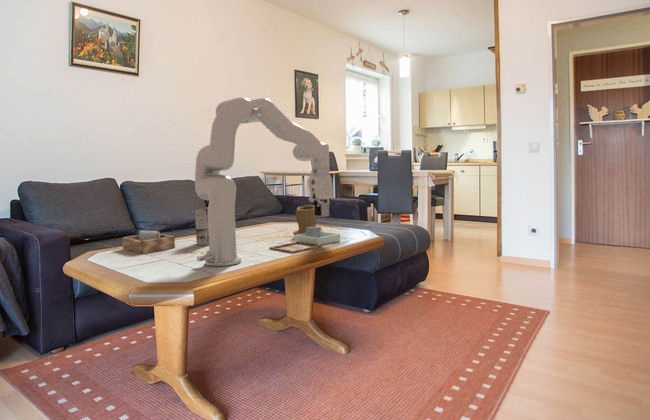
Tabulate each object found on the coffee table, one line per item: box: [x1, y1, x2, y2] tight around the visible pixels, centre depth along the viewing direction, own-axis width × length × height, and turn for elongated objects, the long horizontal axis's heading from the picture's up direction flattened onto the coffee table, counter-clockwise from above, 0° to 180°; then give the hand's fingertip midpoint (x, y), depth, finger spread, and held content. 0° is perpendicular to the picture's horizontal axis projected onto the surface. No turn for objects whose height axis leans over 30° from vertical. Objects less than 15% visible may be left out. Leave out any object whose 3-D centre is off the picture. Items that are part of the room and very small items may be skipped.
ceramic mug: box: [138, 230, 161, 241], centre depth 192 cm, size 11×8×8 cm
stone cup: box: [292, 204, 324, 236], centre depth 212 cm, size 15×12×15 cm
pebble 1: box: [315, 201, 330, 218], centre depth 189 cm, size 4×4×6 cm
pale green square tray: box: [294, 231, 341, 246], centre depth 192 cm, size 14×14×4 cm
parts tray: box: [268, 241, 323, 254], centre depth 179 cm, size 16×14×2 cm
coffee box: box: [194, 206, 209, 246], centre depth 197 cm, size 9×6×16 cm
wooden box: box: [121, 233, 176, 255], centre depth 189 cm, size 15×17×5 cm
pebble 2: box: [306, 225, 321, 238], centre depth 194 cm, size 4×4×6 cm
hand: (321, 214), depth 189 cm, fingers closed on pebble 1, 4 cm apart
